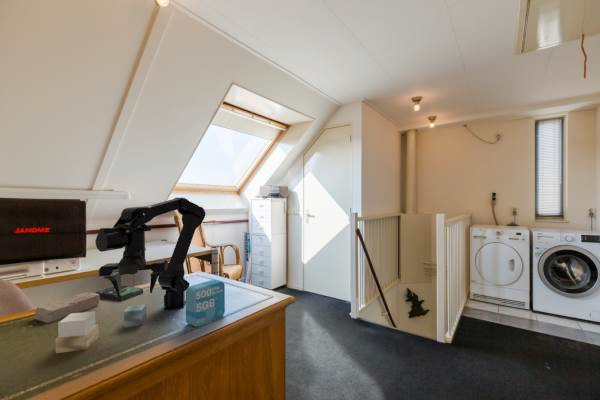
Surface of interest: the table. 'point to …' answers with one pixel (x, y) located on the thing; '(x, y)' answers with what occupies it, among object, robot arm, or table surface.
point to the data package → (205, 302)
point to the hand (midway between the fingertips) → (135, 294)
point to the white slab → (76, 324)
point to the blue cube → (135, 315)
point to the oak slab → (77, 341)
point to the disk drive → (125, 293)
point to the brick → (66, 307)
